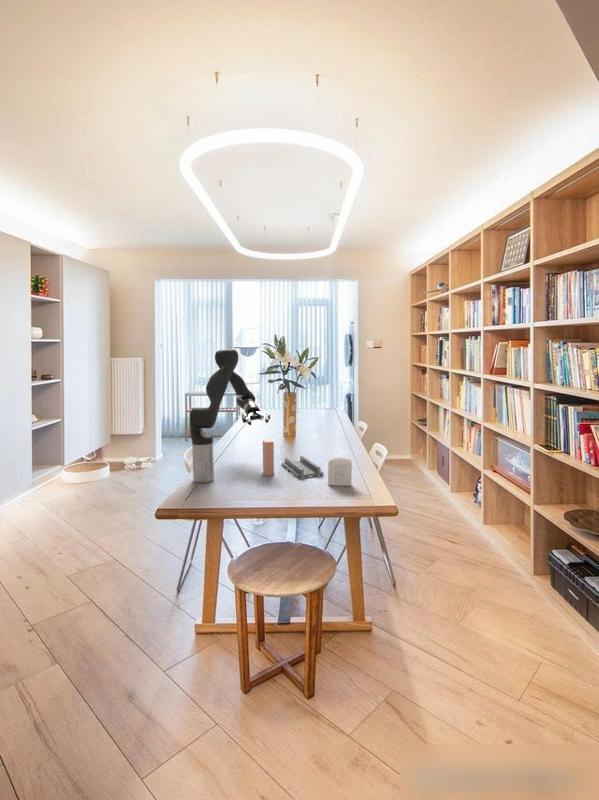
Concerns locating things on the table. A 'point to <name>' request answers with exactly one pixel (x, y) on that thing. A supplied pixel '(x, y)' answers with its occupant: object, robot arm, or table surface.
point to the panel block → (268, 457)
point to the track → (302, 467)
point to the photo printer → (339, 471)
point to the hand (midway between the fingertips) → (258, 422)
